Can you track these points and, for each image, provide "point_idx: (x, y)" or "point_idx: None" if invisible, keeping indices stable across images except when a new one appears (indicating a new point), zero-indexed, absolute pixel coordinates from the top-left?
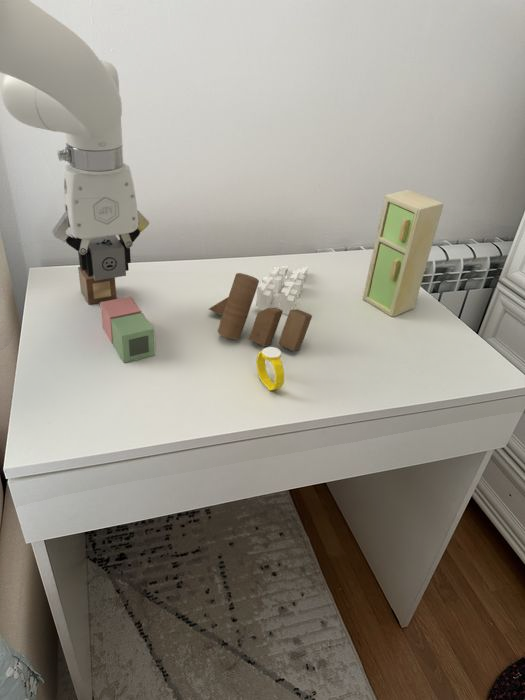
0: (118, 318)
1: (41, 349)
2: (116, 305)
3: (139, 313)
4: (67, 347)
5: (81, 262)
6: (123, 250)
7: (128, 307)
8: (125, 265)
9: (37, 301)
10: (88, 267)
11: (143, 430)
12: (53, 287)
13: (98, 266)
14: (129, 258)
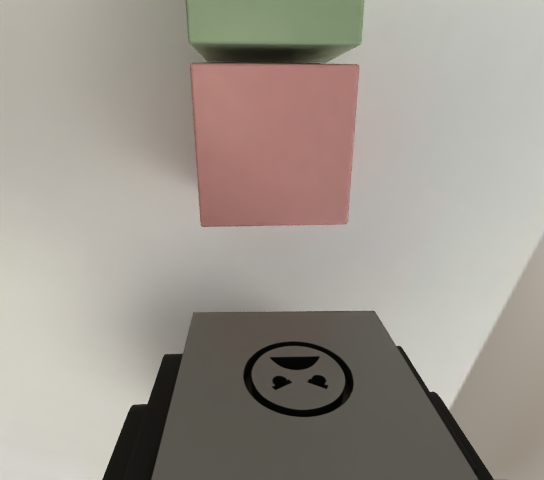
0: (324, 36)
1: (539, 143)
2: (291, 166)
3: (206, 38)
4: (467, 121)
5: (458, 434)
6: (164, 461)
7: (242, 126)
8: (175, 375)
9: (438, 395)
10: (422, 386)
11: None
12: None
13: (376, 367)
14: (130, 426)
